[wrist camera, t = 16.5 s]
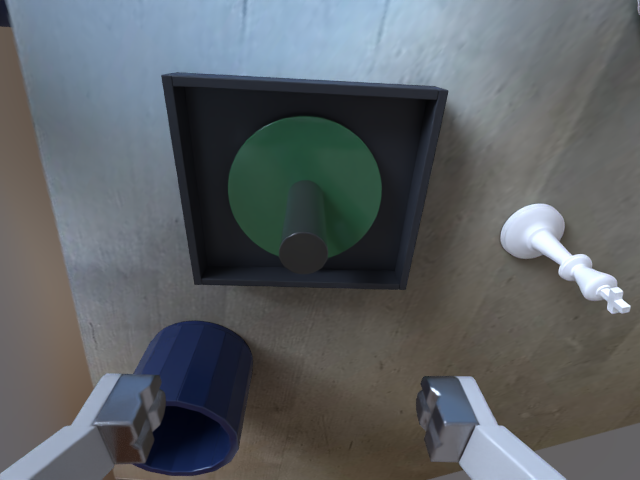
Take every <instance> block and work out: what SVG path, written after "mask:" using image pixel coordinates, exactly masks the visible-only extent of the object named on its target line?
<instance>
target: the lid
mask: <svg viewBox="0 0 640 480" xmlns="http://www.w3.org/2000/svg"><path fill="white" fill-rule="evenodd" d="M228 197H229V203H230V206H231V210H232V213H233V215H234V217H235V219H236V221H237V223H238V225H239V226H240V228H241V229H242V230H243V232H244V233H245V234H246V235H247V236H248V237H249V238H250V239H251V240H252V241H253V242H254V243H255V244H257V245H258V246H259V247H261V248H262V249H264V250H266V251H267V252H269V253H271V254H274V255H276V256H279V258H280V260H281V262H282V264H283V265H284V266H285V267H286V268H287V269H288V270H290V271H292V272H294V273H297V274H310V273H313V272H316V271H318V270H319V269H320V268H322V267H323V266H324V264H325V263H326V261H327V258H330V257H333V256H335V255H338V254H340V253H342V252H344V251H346V250H348V249H349V248H350V247H352V246H353V245H355V244H356V243H357V242H358V241H359V240H360V239H361V238H362V237H363V236H364V235H365V234H366V233H367V232H368V230H369V229H370V227H371V226H372V224H373V222H374V220H375V218H376V216H377V213H378V211H379V208H380V203H381V197H382V181H381V176H380V171H379V168H378V165H377V163H376V160H375V158H374V157H373V155H372V153H371V151H370V150H369V148H368V147H367V146H366V144H365V143H364V142H363V141H362V140H361V139H360V138H359V137H358V136H357V135H356V134H355V133H354V132H352V131H351V130H350V129H348V128H347V127H345V126H343V125H342V124H340V123H338V122H335V121H333V120H330V119H327V118H323V117H319V116H311V115H296V116H290V117H285V118H282V119H278V120H275V121H273V122H271V123H269V124H267V125H265V126H263V127H262V128H260V129H259V130H257V131H256V132H255V133H254V134H253V135H251V136H250V137H249V138H248V139H247V141H246V142H245V143H244V144H243V145H242V147H241V148H240V150H239V151H238V153H237V154H236V156H235V159H234V161H233V163H232V166H231V169H230V173H229V179H228Z"/></svg>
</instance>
